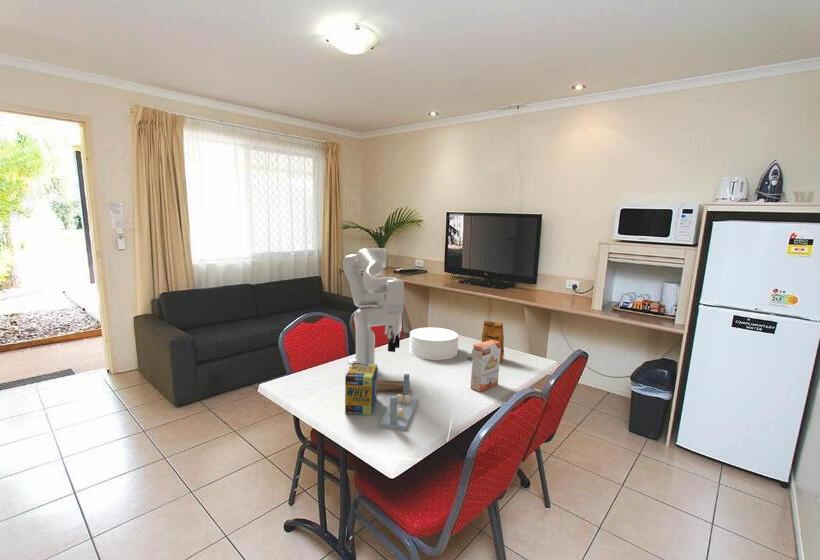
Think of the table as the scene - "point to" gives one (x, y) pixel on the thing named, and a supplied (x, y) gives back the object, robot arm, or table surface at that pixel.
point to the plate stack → (433, 343)
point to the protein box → (360, 389)
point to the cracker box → (485, 365)
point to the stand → (399, 409)
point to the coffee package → (494, 334)
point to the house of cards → (470, 356)
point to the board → (390, 386)
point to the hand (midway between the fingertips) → (393, 349)
